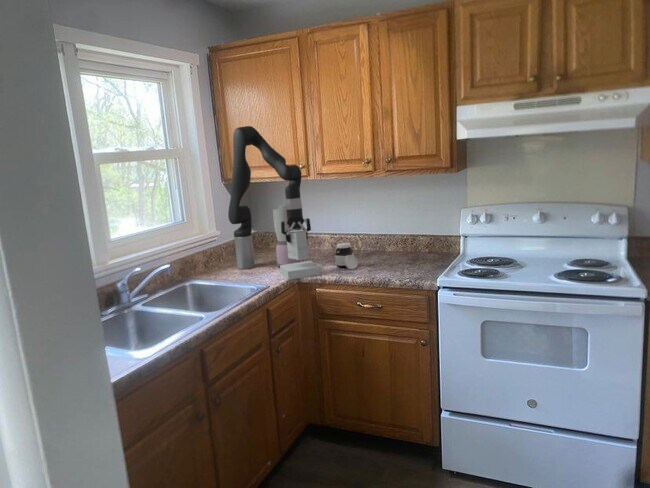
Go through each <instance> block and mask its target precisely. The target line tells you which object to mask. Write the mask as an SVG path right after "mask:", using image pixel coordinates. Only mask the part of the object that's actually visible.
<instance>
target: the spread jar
mask: <svg viewBox="0 0 650 488" xmlns="http://www.w3.org/2000/svg"><path fill="white" fill-rule="evenodd" d="M334 253H335V254H334V256H335V257H334V258H335V259H334V261H335V265H336V267H337V268H338V269H341V270H342V269H348V270H354V269H356V268H357V266H358V260H357V258H356V257H355V255H354V254H355V253H354V250H353V248H352V247H351V243H350V242H342V243H337V244H336V250H335V252H334Z"/></svg>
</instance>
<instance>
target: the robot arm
mask: <svg viewBox="0 0 650 488" xmlns="http://www.w3.org/2000/svg"><path fill="white" fill-rule="evenodd" d="M248 146H254V147H255V148H257V149H258V150H259V151H260V154H261V156H262V158H263V160H264V161H265V162H266V164H268V165H269V166H270V167H271V168H273V169H274V171H275V172H276V174H277V175H278V176H279V177H280V179H282V180H283V181H284V182H285V181H286V182H288V185H287V186H286V187H285V189H284V195H285V205H286V211H287V221H284V222H283V221H281V233H282V234H285V235H286V241H287V242H288V243H290V236H289V233H290V231H291V230H292V229H296V228H297V229H300V228H301V231H306V238H307V240H308V239H309V235H308V232H310V231H312V227H311V220H310V218H308V217H306V218H304V216H303V215H304V214H303V205H302V204H303V203H302V198H301V191H300V190H301V183H302V171H301V167H300V166H298V165H297V164H292V165H288V164H287V160H286V158H285V157H284V156H283V155H282V154H281V153H279V152H278V151H277V150H276V149H274V148H273V147H272V146H271V144H269V143H268V142H267V140H266V139H265V138H264V137H263V136H262V135H261V133H260V132H259V131H258V130H257V129H256V128H254V127H253V126H250V125H247V126H239V127H237V128H235V129H234V132H233V135H232V148H233V157H232V158H233V159H232V161H233V164H232V172H231V173H232V175H231V191H230V192H231V193H230V200H229V205H228V221H229V222H230V224H232V225H239V224H240V226H239V227H238V228H237V229H236V230H234V232H233V239H234V247H235V256H236V263H237V269H238V270H247V269H253V268H255V267H256V262H255V261H256V260H255V255H254V253H255V252H254V245H253V237H252V230H253V227H252V213H251V209H250V208H249V206H248V205H246V204H243V205H240V204H241V200H242V198H243V197H244V195H245V193H247V191H248V189H249V187H250V184H251V177H252V176H251V175H252V171H251V168H250V165H249V163H248V161H247V158H246V151H247V147H248ZM304 223H305V224H306V227H305V226H304ZM286 224H288V225H289V226H288V228H287V231H286V232H285V226H286ZM302 224H303V225H302Z"/></svg>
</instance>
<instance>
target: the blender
mask: <svg viewBox="0 0 650 488" xmlns="http://www.w3.org/2000/svg"><path fill="white" fill-rule="evenodd" d="M272 213H273V215H272V217H273V226H274V231H275V235H276V238H277V242H276V243H277V244H276V245H275V246H276V247H275V253H276V255H275V256H276V261H277V262H276V263H277V268H279V269H280V265H285V264H292V263H298V262H301V259H300V260H296V259H291V258H288V248H287V241H286V235H285V234H282V233H281V221H283V222H284V221H287V211H286V204H283V205H278V207H276V208H272ZM302 225H303V226H304V223H303V224H302ZM288 226H289V225H288V224H286V226H285V232H286V231H287V228H288ZM294 230H298V231H302V229H301V228H300V229H297V228H296V229H292V230H291V231H294Z"/></svg>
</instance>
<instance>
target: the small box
mask: <svg viewBox="0 0 650 488" xmlns="http://www.w3.org/2000/svg"><path fill="white" fill-rule="evenodd" d="M289 236H290V243H288V242H287V248H288V258H291V259H296V260H300V261H301V260H304V259H307V258H309V251H308V241H307V240H308V239H307V238H306V231H303V230H294V231H290V233H289Z"/></svg>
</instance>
